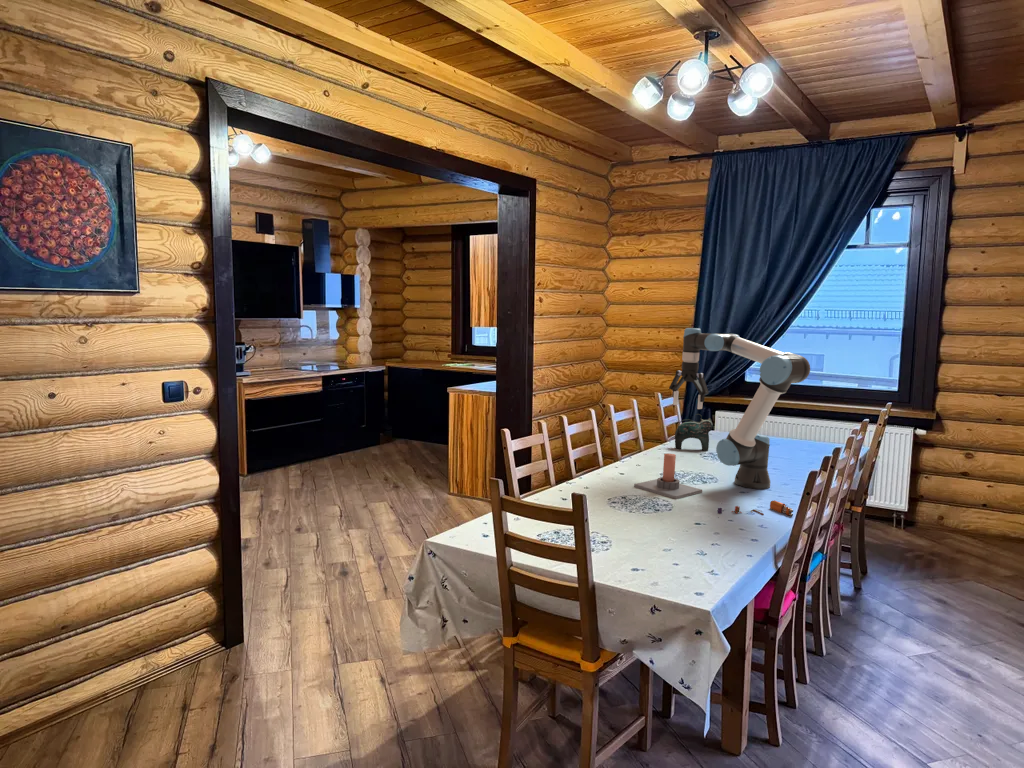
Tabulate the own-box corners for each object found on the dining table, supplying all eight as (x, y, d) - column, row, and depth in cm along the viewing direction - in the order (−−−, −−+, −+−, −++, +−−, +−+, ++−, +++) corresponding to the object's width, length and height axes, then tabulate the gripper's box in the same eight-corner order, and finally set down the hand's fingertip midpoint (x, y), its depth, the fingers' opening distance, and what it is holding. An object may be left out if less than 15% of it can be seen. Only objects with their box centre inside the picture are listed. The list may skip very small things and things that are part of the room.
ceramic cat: (710, 449, 375) (712, 414, 372) (711, 452, 368) (714, 416, 366) (673, 447, 378) (676, 411, 376) (674, 449, 372) (676, 413, 369)
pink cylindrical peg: (675, 487, 288) (678, 455, 287) (669, 488, 285) (671, 456, 284) (666, 484, 292) (668, 453, 290) (659, 486, 289) (661, 454, 287)
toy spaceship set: (794, 517, 257) (795, 506, 257) (718, 525, 245) (719, 514, 245) (774, 509, 268) (775, 498, 267) (700, 516, 255) (701, 505, 255)
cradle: (702, 492, 286) (702, 482, 286) (676, 499, 275) (676, 489, 274) (660, 480, 303) (660, 471, 302) (634, 486, 291) (634, 477, 291)
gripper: (718, 363, 305) (715, 410, 308) (673, 359, 324) (670, 402, 327) (708, 364, 300) (705, 411, 303) (663, 359, 319) (660, 403, 322)
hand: (687, 406), depth 315 cm, fingers open, 13 cm apart
